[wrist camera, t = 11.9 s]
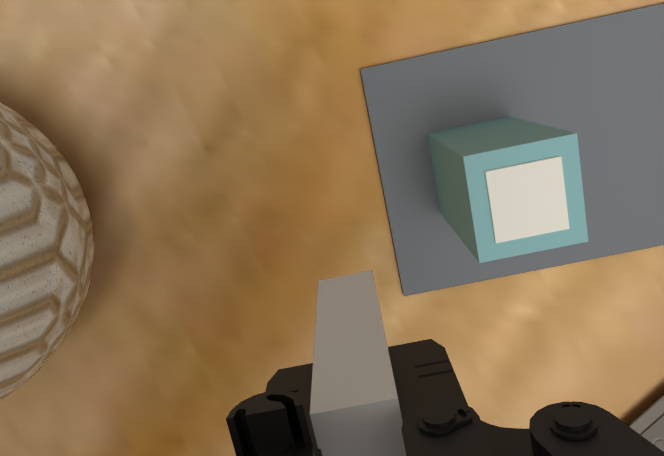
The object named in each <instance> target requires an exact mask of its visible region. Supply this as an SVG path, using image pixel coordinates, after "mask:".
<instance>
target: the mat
mask: <svg viewBox="0 0 664 456" xmlns="http://www.w3.org/2000/svg"><path fill="white" fill-rule="evenodd" d="M360 71H361V77H362V82H363V87H364V92H365V98H366V103H367V108H368V113H369V118H370V124H371V129H372V134H373V139H374V144H375V150H376V155H377V160H378V165H379V170H380V176H381V181H382V186H383V191H384V197H385V202H386V207H387V212H388V217H389V223H390V228H391V233H392V238H393V243H394V249H395V254H396V259H397V264H398V270H399V275H400V280H401V285H402V290H403V295H404V296H408V295H413V294H418V293H423V292H428V291H433V290H438V289H443V288H448V287H453V286H458V285H464V284H469V283H474V282H479V281H484V280H489V279H494V278H499V277H504V276H509V275H514V274H519V273H524V272H529V271H534V270H539V269H545V268H550V267H555V266H560V265H565V264H570V263H575V262H580V261H585V260H590V259H595V258H600V257H605V256H610V255H615V254H621V253H626V252H631V251H636V250H641V249H646V248H651V247H656V246H661V245H664V3H663V4H658V5H654V6H649V7H644V8H640V9H635V10H631V11H626V12H621V13H617V14H612V15H608V16H603V17H598V18H594V19H589V20H585V21H580V22H575V23H571V24H566V25H562V26H557V27H552V28H548V29H543V30H539V31H534V32H529V33H525V34H520V35H516V36H511V37H506V38H502V39H497V40H492V41H488V42H483V43H479V44H474V45H469V46H465V47H460V48H456V49H451V50H446V51H442V52H437V53H433V54H428V55H423V56H419V57H414V58H410V59H405V60H400V61H396V62H391V63H387V64H382V65H377V66H373V67H368V68H364V69H360ZM506 117H513V118H518V119H522V120H526V121H530V122H534V123H538V124H542V125H546V126H550V127H554V128H558V129H562V130H566V131H570V132H574V133H577V137H578V147H579V157H580V166H581V176H582V185H583V195H584V204H585V214H586V224H587V233H588V242H584V243H579V244H574V245H568V246H563V247H558V248H553V249H548V250H543V251H538V252H533V253H528V254H523V255H518V256H513V257H508V258H503V259H498V260H493V261H487V262H482V263H479V262H478V261H477V259H476V258H475V257H474V255H473V254H472V253H471V252H470V250H469V249H468V248H467V247H466V245H465V244H464V243H463V241H462V240H461V239H460V238H459V236H458V235H457V234H456V232H455V231H454V230H453V229H452V227H451V226H450V225H449V224H448V222H447V221H446V220H445V218H444V217H443V216H442V215H441V213H440V207H439V201H438V195H437V189H436V183H435V177H434V171H433V165H432V160H431V154H430V148H429V142H428V136H427V134H429V133H434V132H439V131H444V130H448V129H453V128H458V127H463V126H468V125H472V124H477V123H482V122H487V121H491V120H496V119H501V118H506Z"/></svg>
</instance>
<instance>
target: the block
mask: <svg viewBox="0 0 664 456" xmlns="http://www.w3.org/2000/svg"><path fill="white" fill-rule="evenodd" d="M427 136H428V142H429V148H430V154H431V160H432V165H433V171H434V177H435V183H436V189H437V195H438V201H439V207H440V213H441V215H442V216H443V217H444V218H445V220H446V221H447V222H448V224H449V225H450V226H451V227H452V229H453V230H454V231H455V232H456V234H457V235H458V236H459V238H460V239H461V240H462V241H463V243H464V244H465V245H466V247H467V248H468V249H469V250H470V252H471V253H472V254H473V255H474V257H475V258H476V259H477V261H478V262H479V263H482V262H487V261H493V260H498V259H503V258H508V257H513V256H518V255H523V254H528V253H533V252H538V251H543V250H548V249H553V248H558V247H563V246H568V245H574V244H579V243H584V242H588V233H587V224H586V214H585V204H584V195H583V185H582V176H581V166H580V157H579V147H578V137H577V133H574V132H570V131H566V130H562V129H558V128H554V127H550V126H546V125H542V124H538V123H534V122H530V121H526V120H522V119H518V118H513V117H506V118H501V119H496V120H491V121H487V122H482V123H477V124H472V125H468V126H463V127H458V128H453V129H448V130H444V131H439V132H434V133H429V134H427Z"/></svg>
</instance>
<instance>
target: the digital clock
mask: <svg viewBox="0 0 664 456" xmlns="http://www.w3.org/2000/svg"><path fill="white" fill-rule="evenodd" d="M629 425H630V426H629V427H631V428H632V429H633V430H635V431H636V432H637V433H639V434H640V435H641V436H643V437H644V438H645V439H647V440H648V441H650V442H651V443H652V444H654V445H655V446H656V447H658V448H659V449H660V450H662V451H663V452H664V394H663V395H662V396H661V397H660V398H658V399H657V400H656V401H655V402H654V403H653V404H652V405H651V406H649V407H648V408H647V409H646V410H645V411H644V412H643V413H641V414H640V415H639V416H638V417H637V418H636V419H635V420H634V421H632V422H631V423H630V424H629Z"/></svg>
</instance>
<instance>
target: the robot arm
mask: <svg viewBox="0 0 664 456" xmlns="http://www.w3.org/2000/svg"><path fill="white" fill-rule="evenodd" d="M226 421H227V424H228V428H229V431H230V435H231V438H232V442H233V445H234V449H235V452H236V456H664V452H663V451H662V450H660V449H659V448H658V447H656V446H655V445H654V444H652V443H651V442H650V441H648V440H647V439H645V438H644V437H643V436H641V435H640V434H639V433H637V432H636V431H635V430H633V429H632V428H631V427H629V426H628V425H626V424H625V423H624V422H622V421H621V420H620V419H618V418H617V417H616V416H614V415H613V414H611V413H610V412H608V411H606V410H604V409H602V408H600V407H598V406H596V405H592V404H587V403H583V402H561V403H556V404H551V405H548V406H546V407H544V408H542V409H540V410H538V411H537V412H536V413H535V414H534V415H533V417H532V418H531V419H530V427H529V429H515V428H503V427H498V426H494V425H490V424H488V423H485V422H483V421H481V420H480V418H479V416H478V414H477V413H476V412H475V411H474V410H473V408H471V407H469V406H468V404H467V402H466V399H465V397H464V394H463V392H462V390H461V387H460V385H459V382H458V380H457V377H456V375H455V372H454V370H453V367H452V365H451V362H450V361H449V358H448V355H447V353H446V350H445V348H444V347H443V346H441V345H440V344H438V343H437V342H435V341H434V340H432V339H428V340H423V341H418V342H412V343H407V344H402V345H397V346H391V347H388V346H387V342H386V337H385V332H384V327H383V322H382V317H381V312H380V307H379V302H378V297H377V292H376V287H375V282H374V277H373V272H372V270H370V271H365V272H360V273H355V274H350V275H345V276H340V277H335V278H330V279H325V280H320V281H318V293H317V309H316V324H315V340H314V355H313V363H311V364H306V365H300V366H295V367H290V368H285V369H279V370H278V371H277V372H276V373H275V375H274V376H273V377H272V378H271V379H270V380H269V382H268V383H267V388H266V392H264V393H261V394H257V395H254V396H252V397H250V398H248V399H246V400H244V401H242V402H241V403H239V404H238V405H237V406H236V407H234V408H233V409H232V410H231V411H230V413H229V415H228V416H227V418H226Z"/></svg>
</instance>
